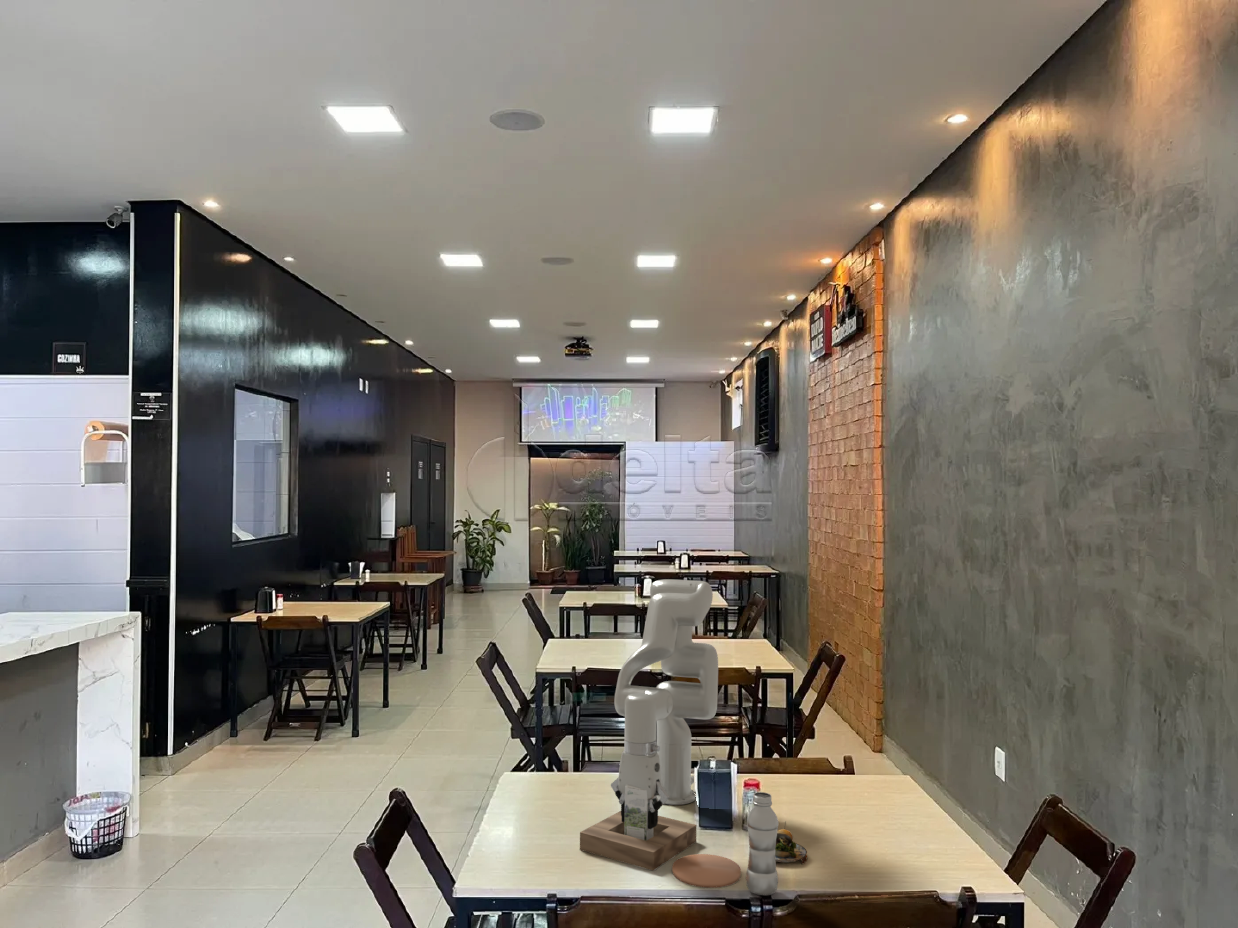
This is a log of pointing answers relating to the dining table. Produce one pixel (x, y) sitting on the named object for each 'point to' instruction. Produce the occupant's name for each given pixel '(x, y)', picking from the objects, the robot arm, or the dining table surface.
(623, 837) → the holder
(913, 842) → the dining table surface
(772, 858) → the plastic bottle
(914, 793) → the dining table surface
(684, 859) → the plate
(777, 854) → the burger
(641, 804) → the syrup box
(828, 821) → the dining table surface
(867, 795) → the dining table surface
